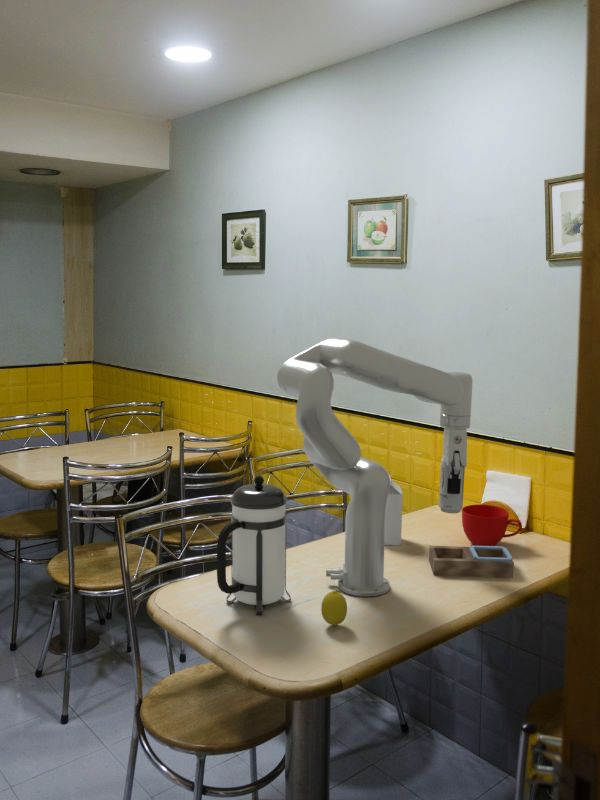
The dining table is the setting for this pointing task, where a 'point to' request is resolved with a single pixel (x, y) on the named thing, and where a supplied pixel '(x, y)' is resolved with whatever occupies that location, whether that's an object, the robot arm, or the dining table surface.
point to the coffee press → (255, 545)
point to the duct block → (471, 561)
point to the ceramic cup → (486, 524)
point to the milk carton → (393, 515)
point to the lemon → (334, 608)
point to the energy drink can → (450, 501)
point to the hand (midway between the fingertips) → (451, 489)
